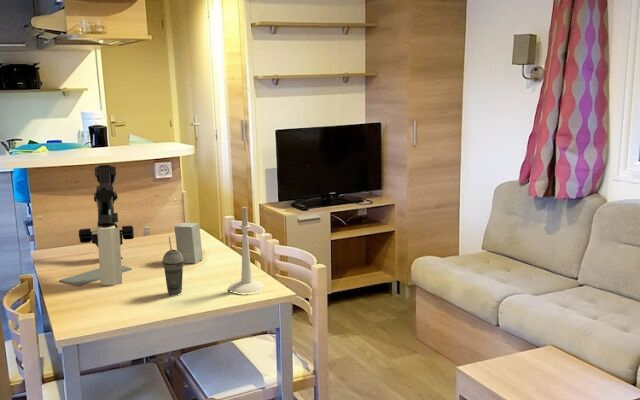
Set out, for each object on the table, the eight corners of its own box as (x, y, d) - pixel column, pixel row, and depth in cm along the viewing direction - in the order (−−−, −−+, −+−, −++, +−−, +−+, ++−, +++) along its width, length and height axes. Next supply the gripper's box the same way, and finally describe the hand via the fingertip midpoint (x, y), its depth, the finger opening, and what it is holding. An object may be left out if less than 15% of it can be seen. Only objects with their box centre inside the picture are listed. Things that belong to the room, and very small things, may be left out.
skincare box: (203, 260, 246) (201, 222, 243) (194, 264, 240) (192, 226, 237) (185, 258, 249) (183, 221, 246) (175, 263, 242) (173, 225, 239)
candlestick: (224, 285, 214) (221, 203, 208) (259, 281, 218) (257, 201, 213) (233, 297, 202) (230, 210, 197) (269, 292, 207) (267, 207, 201)
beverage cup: (174, 298, 201) (171, 241, 197) (159, 294, 205) (156, 238, 201) (190, 292, 207) (187, 236, 203) (175, 288, 211) (172, 234, 207)
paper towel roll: (97, 283, 217) (94, 226, 213) (113, 279, 221) (110, 223, 217) (106, 287, 212) (102, 229, 208) (122, 284, 216) (119, 226, 212)
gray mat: (113, 265, 240) (113, 264, 240) (131, 269, 234) (131, 268, 234) (59, 281, 220) (59, 280, 220) (78, 286, 214) (77, 285, 214)
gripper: (76, 207, 212) (77, 244, 204) (131, 203, 218) (134, 240, 210) (80, 224, 221) (80, 260, 213) (132, 220, 227) (135, 256, 218)
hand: (107, 254), depth 213 cm, fingers closed on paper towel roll, 3 cm apart
